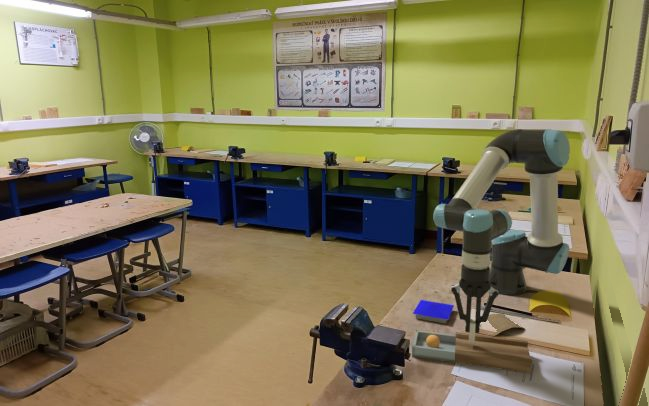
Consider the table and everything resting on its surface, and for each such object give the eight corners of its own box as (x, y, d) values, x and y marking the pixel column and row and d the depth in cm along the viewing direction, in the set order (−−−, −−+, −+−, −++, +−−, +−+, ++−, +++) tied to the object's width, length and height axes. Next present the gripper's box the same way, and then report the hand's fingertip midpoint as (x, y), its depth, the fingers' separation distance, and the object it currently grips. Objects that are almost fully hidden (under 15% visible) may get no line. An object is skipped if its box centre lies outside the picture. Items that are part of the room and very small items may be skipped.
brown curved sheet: (507, 317, 153) (507, 310, 152) (529, 330, 143) (529, 323, 143) (472, 324, 148) (472, 317, 148) (492, 339, 139) (493, 331, 138)
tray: (415, 339, 139) (415, 330, 138) (455, 344, 135) (455, 335, 134) (412, 356, 129) (412, 346, 129) (454, 362, 126) (455, 352, 125)
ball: (430, 329, 133) (442, 337, 133) (423, 339, 135) (435, 346, 134) (430, 336, 130) (442, 344, 129) (423, 346, 131) (435, 353, 130)
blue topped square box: (412, 319, 152) (412, 305, 151) (420, 305, 163) (421, 292, 162) (447, 326, 147) (448, 311, 146) (453, 311, 158) (454, 297, 157)
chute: (455, 344, 135) (456, 332, 134) (526, 354, 129) (527, 341, 128) (454, 362, 126) (455, 349, 125) (531, 373, 120) (532, 359, 119)
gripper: (451, 267, 122) (448, 345, 127) (501, 272, 118) (496, 351, 123) (451, 259, 129) (449, 332, 134) (499, 262, 125) (494, 338, 130)
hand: (471, 341), depth 128 cm, fingers closed
